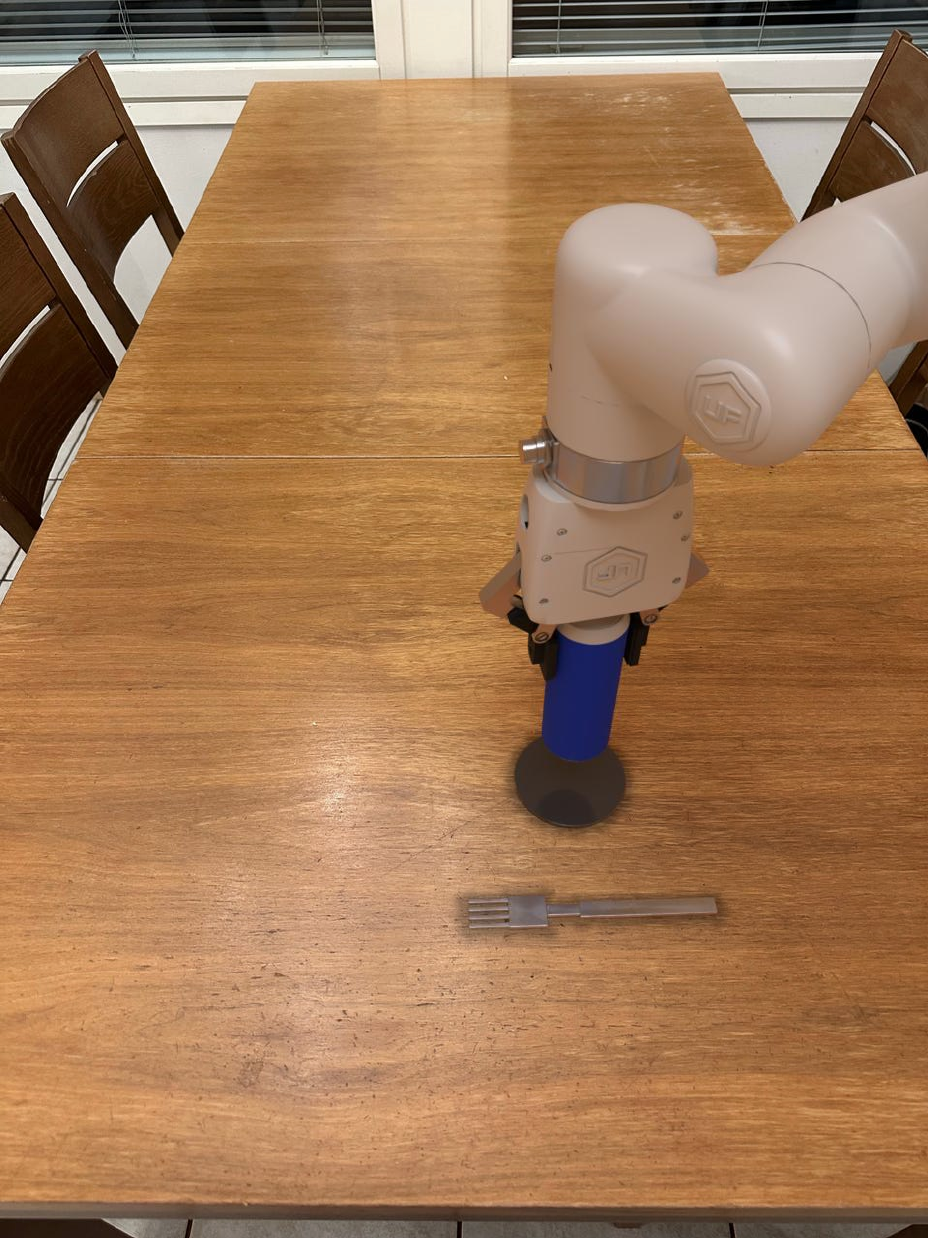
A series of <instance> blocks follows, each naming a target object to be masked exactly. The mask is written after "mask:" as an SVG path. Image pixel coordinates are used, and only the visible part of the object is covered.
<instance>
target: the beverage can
mask: <svg viewBox="0 0 928 1238" xmlns="http://www.w3.org/2000/svg"><path fill="white" fill-rule="evenodd" d="M629 623H630V613H627V614H621V615H615V616H609V617H603V618H597V619H590V620H584V621H578V622H571V623H563V624H557V626H556V628H555V630H554V632H555V634H556V637H557V640H558V655H557V666H556V676H555V677H554V678H553V680H549V681H545V684H544V696H543V707H542V708H543V709H542V720H541V722H542V723H541V736H542V738H543V741H544V743H545V745H546V746H547V747H548V749H549V750H550V751H551V752H552V753H554V754H555V755H557V756H558V757H560V758H563V759H565V760H569V761H586V760H590V759H592V758H595V757H596V756H598V755H599V754H601V753H602V752H603V751H604V750H605V748H606V746H609V741H610V737H611V731H612V725H613V719H614V713H615V708H616V703H617V697H618V691H619V690H618V689H619V685H620V680H621V674H622V668H623V663H624V652H625V646H626V640H627V635H628V629H629Z"/></svg>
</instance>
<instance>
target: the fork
mask: <svg viewBox="0 0 928 1238" xmlns="http://www.w3.org/2000/svg"><path fill="white" fill-rule="evenodd" d="M467 902H468V903H467V904H468V905H488V904H507V905H493V906H469V907H468V913H494V912H507V913H505V914H503V913H502V914H476V915H475V914H474V915H473V914H472V915H468V921H469V922H474V921H477V922H479V921H503V920H508V922H482V923H481V922H480V923H469V924H468V928H469V930H482V929H485V930H486V929H487V930H488V929H509V930H524V929H526V930H527V929H548V928H549V921H548V920H549V919H548V918H562V917H563V918H567V917H568V918H569V917H570V918H571V917H579V919H580V920H586V919H587V920H588V919H618V918H619V919H620V918H621V919H622V918H623V919H624V918H649V917H650V918H651V917H653V918H654V917H683V916H684V917H685V916H710V915H711V916H713V915H714V916H715V915H716V916H717V914H718V913H719V912H718V906H717V902H716V898H715V897H714V896H706V897H705V896H703V897H676V898H673V897H672V898H671V897H670V898H648V899H647V898H645V899H644V898H643V899H618V900H617V899H615V900H614V899H613V900H610V899H609V900H581V901H578V903H570V904H569V903H568V904H547V897H546V894H531V895H527V894H526V895H525V894H523V895H507V897H492V898H468V899H467Z"/></svg>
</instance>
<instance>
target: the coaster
mask: <svg viewBox="0 0 928 1238" xmlns="http://www.w3.org/2000/svg"><path fill="white" fill-rule="evenodd" d="M513 775H514V776H513V781H514V782H513V783H514V788H515V791H516V795H517V796H518V798H519V800H520V801H521V803H522V805H523V806H524V807H525V808H526V809H527V810H528V811H529V812H530V813H531V814H532V815H533V816H534V817H536V818H538V819H539V820H541V821H543V822H545V823H547V824H549V825H552V826H556V827H558V828H565V829H583V828H587V827H591V826H595V825H597V824H599V823H602V822H603V821H605V820H606V819H607V818H609V817H610V816H611V815H612V814H614V813H615V811H616V810H617V809H618V808H619V806H620V804H621V802H622V801H623V799H624V796H625V795H624V794H625V791H626V784H627V783H626V782H627V779H626V773H625V769H624V766H623V764H622V762H621V760H620V758H619V756H618V755H617V754H616V753H615V751H614V750H613V749H612V748H611V747H609V745H607V746H606V748H605V750H604V751H603V752H602V753H601V754H599V755H598V756H596V757H595V758H592V759H590V760H586V761H569V760H565V759H563V758H560V757H558V756H557V755H555V754H554V753H552V752H551V751H550V750H549V749H548V747H547V746H546V745H545V743H544V741H543V738H542V735H541V736H539V737H537V738H535V739H533V740H532V741H531V742H530V743H528V744H527V745H526V746H525V747H524V748H523V750H522V751H521V752H520V754H519V756H518V758H517V759H516V763H515V767H514V771H513Z"/></svg>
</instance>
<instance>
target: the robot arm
mask: <svg viewBox="0 0 928 1238" xmlns="http://www.w3.org/2000/svg"><path fill="white" fill-rule="evenodd" d="M555 255H556V256H555V265H554V275H553V291H552V307H551V308H552V309H551V321H550V323H551V324H550V341H549V355H548V356H549V357H548V374H547V392H546V407H545V408H546V409H545V414H542V415H541V427H540V428H539V431H538V432H537V434H533V435H531V437H530V438H524V439H519V440H518V444H517V447H518V449H517V451H518V456H519V460H520V463H521V464H522V465H528V464H531V466H530V468H529V471H528V474H527V477H526V480H525V483H524V487H523V491H522V495H521V499H520V503H519V508H518V514H517V519H516V526H515V533H514V541H513V550H512V551H513V553H512V558H511V559H510V560H509V561H508V562H507V563H506V564H505V565H504V566H503V567H502V568H501V569H500V570H499V571H498V572H497V573H496V574H495V575H494V576H493V577H492V578H490V580H489V581H487V583H486V584H485V585H484V586H483V587H482V588H481V589H480V590H479V591H478V598H479V601H480V605H481V608H482V610H483V612H486V613H488V614H490V615H492V616H494V617H497V618H499V619H502V620H503V619H506V620H508V623H509V624H510V625H512V626H514V627H515V628H516V629H519V630H521V631H523V632H525V633H526V634H527V655H528V658H529V661H530V663H531V665H532V666H535V665H538V666H539V668H540V671H541V674H542V678H543V679H544V681H545V682H546V681H549V680H553V678H554V677H555V676H556V666H557V655H558V640H557V637H556V634H555V632H554V630H555V628H556V626H557V624H563V623H571V622H578V621H584V620H590V619H597V618H603V617H609V616H615V615H621V614H627V613H630V623H629V629H628V635H627V640H626V646H625V652H624V658H623V661H624V662H625V664H626V665H627V666H629V667H635V666H639V662H640V659H641V653H642V648H643V647H646V646H647V641H648V637H649V632H650V628H651V626H652V625H655V624H656V623H658V621H659V620H660V618H661V615H660V612H661V611H663V610H664V609H665V608H666V607H668V606H669V605H671V604H672V603H674V602H675V601H677V600H678V599H680V597H681V596H682V594H683V592H684V590H685V589H689V588H691V587H692V586H694V585H695V584H696V583H698V582H700V581H701V580H702V579H703V578H705V577H707V576H708V574H709V573H710V568H709V566H708V565H707V563H706V560H705V559H704V557H703V555H702V554H701V553H700V552H699V551H698V550H697V549H696V548H694V547H693V538H694V537H693V536H694V521H695V519H694V518H695V517H694V515H695V483H694V472H693V468H692V465H691V463H690V461H689V460H688V458H687V457H686V456H685V455H684V454H683V451H684V447H685V446H684V445H685V442H686V437H687V438H688V439H690V440H692V441H693V442H694V443H696V444H697V445H699V446H701V447H702V448H704V449H705V450H707V452H710V453H712V454H714V455H716V456H718V457H720V458H722V459H724V460H726V461H729V462H733V463H735V464H739V465H742V466H746V467H754V468H766V467H774V466H778V465H781V464H785V463H787V462H789V461H792V460H794V459H796V458H797V457H799V456H800V455H802V454H803V453H805V452H806V451H807V450H808V449H810V447H812V446H813V445H814V444H815V443H816V442H817V441H818V440H819V439H820V438H821V437H822V435H823V434H824V433H825V431H826V430H827V429H829V426H831V424H833V422H834V421H835V420H836V418H838V416H839V414H841V412H842V411H843V410H844V408H845V407H846V406H847V405H848V403H850V401H851V400H852V399H853V397H854V396H855V395H856V393H857V392H858V391H859V389H860V388H861V387H862V386H863V385H864V383H865V382H866V381H867V380H868V379H869V377H870V376H871V375H872V373H874V371H875V369H877V367H878V366H879V365H880V364H881V362H883V360H884V359H885V357H886V356H888V354H889V353H890V352H891V351H893V350H895V349H898V348H901V347H904V346H907V345H911V344H915V343H919V342H922V341H926V340H928V170H927V171H924V172H921V173H918V174H915V175H913V176H910V177H908V178H905V179H902V180H899V181H896V182H893V183H890V184H888V185H885V186H882V187H880V188H876V189H874V190H871V191H869V192H866V193H863V194H861V195H857V196H855V197H851V198H850V199H847V200H844V201H842V202H840V203H836V204H835V205H832V206H830V207H827V208H825V209H823V210H820V211H818V212H817V213H814V214H812V215H811V216H809V217H807V218H805V219H804V220H802V221H800V222H799V223H796V225H794V226H793V227H791V228H790V229H789V230H787V231H786V232H785V233H783V234H782V235H781V236H780V237H778V238H777V239H776V240H775V241H774V242H772V243H771V244H770V245H768V246H767V247H766V248H765V249H764V250H763V251H762V252H761V253H760V254H759V255H758V256H757V257H755V258H754V260H753V261H751V262H750V263H749V264H748V265H747V266H746V267H745V268H743V270H741V271H737V272H734V273H731V274H726V275H723V276H722V275H721V276H720V275H718V273H719V267H720V264H719V263H720V262H719V261H720V260H719V259H720V258H719V252H718V247H717V242H716V241H715V239H714V238H713V236H712V234H711V232H710V231H709V230H708V229H707V227H706V226H705V225H703V224H702V223H701V222H700V220H697V219H696V218H694V216H691V215H690V214H689V213H685V212H683V211H681V210H678V209H675V208H672V207H668V206H665V205H659V204H654V203H645V202H644V203H641V202H639V203H638V202H637V203H632V202H631V203H629V202H628V203H615V204H610V205H605V206H603V207H602V206H601V207H599V208H595V209H593V210H591V211H589V212H587V213H585V214H584V215H581V216H580V217H578V218H577V219H575V220H574V222H573V223H571V225H570V226H569V227H568V228H567V229H566V231H565V232H564V233H563V236H562V238H561V240H560V242H559V244H558V248H557V251H556V254H555ZM520 590H521V595H520V594H518V592H519V591H520Z"/></svg>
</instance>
